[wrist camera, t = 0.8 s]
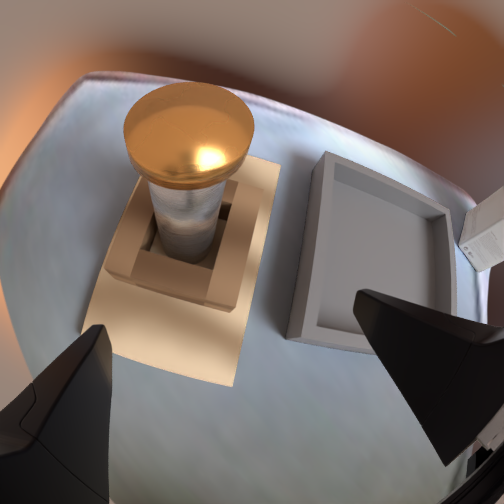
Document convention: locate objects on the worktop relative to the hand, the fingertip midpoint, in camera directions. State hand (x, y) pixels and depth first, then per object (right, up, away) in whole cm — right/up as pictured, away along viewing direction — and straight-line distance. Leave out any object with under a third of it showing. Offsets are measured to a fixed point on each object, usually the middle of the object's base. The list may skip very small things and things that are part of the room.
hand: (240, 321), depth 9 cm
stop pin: (-5, +3, +13) cm, 14 cm away
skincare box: (+32, +4, +23) cm, 39 cm away
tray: (+13, +1, +17) cm, 21 cm away
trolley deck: (-5, +3, +14) cm, 15 cm away
